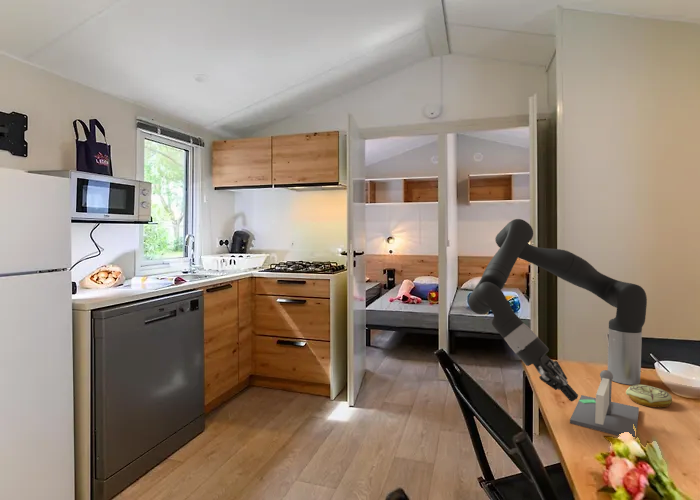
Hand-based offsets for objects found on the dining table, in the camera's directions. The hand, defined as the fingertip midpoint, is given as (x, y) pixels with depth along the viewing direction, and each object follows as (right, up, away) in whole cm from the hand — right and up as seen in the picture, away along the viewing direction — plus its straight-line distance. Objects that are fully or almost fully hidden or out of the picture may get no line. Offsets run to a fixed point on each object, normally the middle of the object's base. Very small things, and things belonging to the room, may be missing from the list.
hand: (575, 399), depth 102 cm
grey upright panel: (+9, -6, +2) cm, 11 cm away
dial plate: (+11, -7, +5) cm, 14 cm away
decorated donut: (+30, -7, +15) cm, 35 cm away
